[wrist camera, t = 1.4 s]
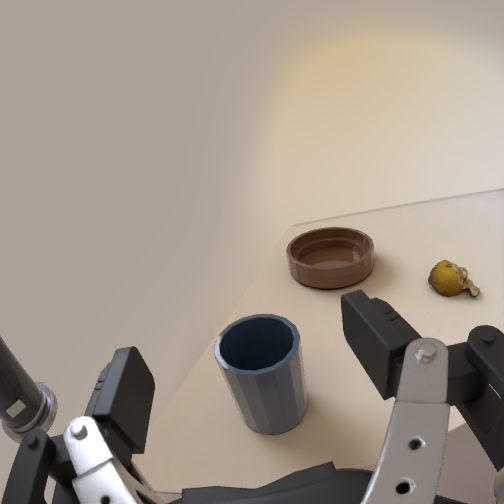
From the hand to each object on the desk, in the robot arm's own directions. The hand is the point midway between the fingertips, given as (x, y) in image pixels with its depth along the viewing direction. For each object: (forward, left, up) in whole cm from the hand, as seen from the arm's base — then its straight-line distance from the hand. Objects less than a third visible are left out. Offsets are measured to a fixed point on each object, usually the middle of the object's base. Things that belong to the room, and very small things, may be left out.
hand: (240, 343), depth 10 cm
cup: (-3, +8, -18) cm, 20 cm away
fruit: (+22, +27, -19) cm, 40 cm away
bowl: (+2, +35, -18) cm, 40 cm away
